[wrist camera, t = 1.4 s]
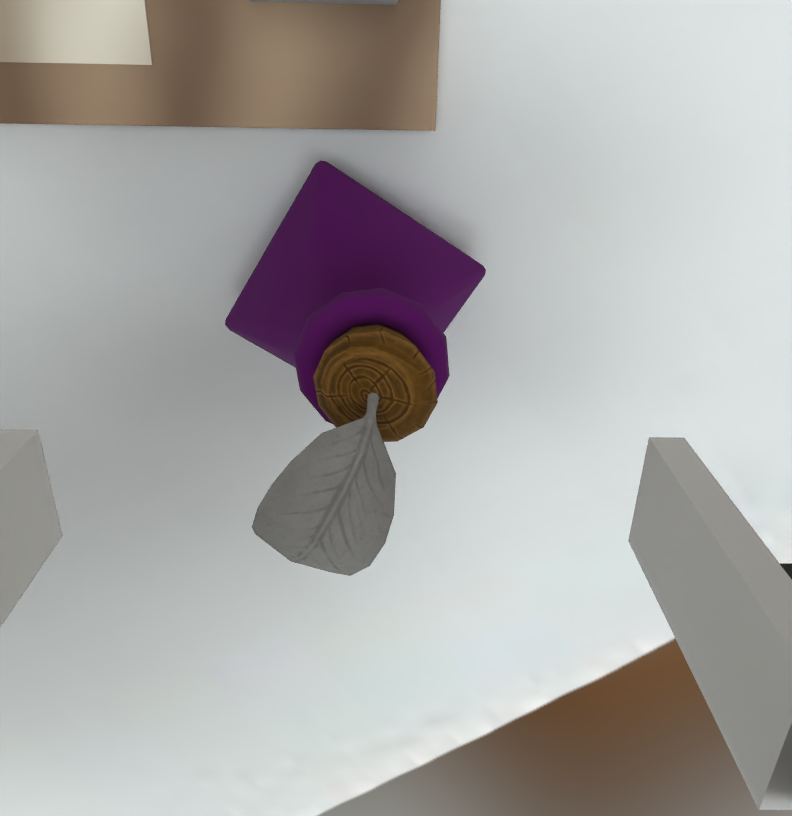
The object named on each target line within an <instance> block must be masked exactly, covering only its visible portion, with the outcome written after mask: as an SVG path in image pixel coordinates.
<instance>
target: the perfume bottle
mask: <svg viewBox="0 0 792 816" xmlns="http://www.w3.org/2000/svg"><path fill="white" fill-rule="evenodd" d="M485 271H486V269H485V268H484V266H483V265H481V264H480V263H478V262H477V261H475V260H474V259H472V258H471V257H469V256H468V255H466V254H465V253H463V252H462V251H460V250H459V249H457V248H456V247H454V246H453V245H451V244H450V243H448V242H447V241H445V240H444V239H442V238H440V237H439V236H437V235H436V234H434V233H433V232H431V231H430V230H428V229H427V228H425V227H424V226H422V225H421V224H419V223H418V222H416V221H415V220H413V219H412V218H410V217H409V216H407V215H406V214H404V213H403V212H401V211H400V210H398V209H397V208H395V207H394V206H392V205H391V204H389V203H388V202H386V201H385V200H383V199H382V198H380V197H379V196H377V195H376V194H374V193H373V192H371V191H370V190H368V189H367V188H365V187H364V186H362V185H361V184H359V183H358V182H356V181H355V180H353V179H352V178H350V177H349V176H347V175H345V174H344V173H342V172H341V171H339V170H338V169H336V168H335V167H333V166H332V165H330V164H329V163H327V162H326V161H319V162H318V163H316V164H315V166H314V168H313V169H312V171H311V173H310V175H309V176H308V178H307V180H306V182H305V183H304V185H303V187H302V188H301V190H300V192H299V194H298V195H297V197H296V199H295V201H294V202H293V204H292V206H291V207H290V209H289V211H288V213H287V214H286V216H285V218H284V220H283V221H282V223H281V225H280V226H279V228H278V230H277V232H276V233H275V235H274V237H273V239H272V240H271V242H270V244H269V246H268V247H267V249H266V251H265V252H264V254H263V256H262V258H261V259H260V261H259V263H258V265H257V266H256V268H255V270H254V271H253V273H252V275H251V277H250V278H249V280H248V282H247V284H246V285H245V287H244V289H243V290H242V292H241V294H240V296H239V297H238V299H237V301H236V303H235V304H234V306H233V308H232V309H231V311H230V313H229V315H228V316H227V318H226V322H225V325H226V326H227V327H228V328H229V330H231V331H232V332H234V333H236V334H238V335H239V336H241V337H243V338H245V339H246V340H248V341H250V342H252V343H254V344H255V345H257V346H259V347H261V348H262V349H264V350H266V351H268V352H269V353H271V354H273V355H275V356H276V357H278V358H280V359H282V360H283V361H285V362H287V363H289V364H290V365H292V366H294V367H296V370H297V376H298V381H299V387H300V390H301V392H302V393H303V394H304V396H305V397H306V398H307V399H308V400H309V402H310V403H311V404H312V405H313V406H314V408H315V409H316V410H317V411H318V412H319V414H320V415H321V416H322V417H323V418H324V419H325V421H327V422H330V423H332V424H334V425H335V427H336V428H334V429H332V430H329V431H326V432H324V433H322V434H320V435H319V436H318V437H317V438H316V439H315V440H314V441H313V442H312V443H311V444H310V445H308V446H307V447H306V448H305V449H304V450H303V451H302V452H301V453H300V454H299V455H297V456H296V457H295V458H294V459H293V460H292V461H291V462H290V463H289V465H288V466H287V467H286V468H285V469H284V471H283V472H282V473H281V474H280V475H279V477H278V478H277V479H276V480H275V481H274V483H273V484H272V485H271V487H270V489H269V490H268V492H267V493H266V495H265V497H264V498H263V500H262V502H261V503H260V505H259V506H258V508H257V512H256V515H255V519H254V522H253V525H252V528H253V530H254V532H255V534H256V535H257V536H259V537H260V538H261V539H262V540H264V541H265V542H266V543H268V544H269V545H270V546H272V547H273V548H274V549H276V550H277V551H278V552H279V553H281V554H282V555H283V556H285V557H286V558H287V559H289V560H290V561H292V562H295V563H299V564H303V565H307V566H310V567H314V568H318V569H321V570H325V571H329V572H333V573H338V574H344V575H350V576H351V575H353V574H354V573H356V572H358V571H360V570H362V569H364V568H366V567H368V566H370V565H371V563H372V562H373V560H374V559H375V557H376V556H377V554H378V553H379V551H380V550H381V548H382V547H383V545H384V544H385V541H386V538H387V535H388V532H389V528H390V525H391V522H392V519H393V516H394V500H395V478H396V473H395V470H394V468H393V465H392V463H391V460H390V457H389V455H388V452H387V450H386V447H385V445H384V442H391V441H399V440H401V439H403V438H404V437H406V436H408V435H410V434H412V433H414V432H415V431H417V430H419V429H421V428H423V427H424V425H425V424H426V422H427V420H428V418H429V417H430V415H431V413H432V411H433V409H434V408H435V406H436V404H437V402H438V401H437V398H438V396H439V395H440V393H441V391H442V389H443V387H444V385H445V383H446V382H447V380H448V377H449V366H448V354H447V342H446V336H445V335H444V334H443V332H444V331H445V330H446V328H447V327H448V325H449V324H450V323H451V321H452V320H453V319H454V317H455V316H456V314H457V313H458V312H459V310H460V309H461V307H462V306H463V305H464V303H465V302H466V300H467V299H468V298H469V296H470V295H471V294H472V292H473V291H474V289H475V288H476V287H477V285H478V284H479V282H480V281H481V280H482V278H483V277H484V275H485Z"/></svg>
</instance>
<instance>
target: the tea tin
mask: <svg viewBox="0 0 792 816" xmlns="http://www.w3.org/2000/svg"><path fill="white" fill-rule="evenodd" d="M246 1H249V2H291V3H337V4H384V5H397V2H398V0H246Z"/></svg>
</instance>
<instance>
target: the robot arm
mask: <svg viewBox="0 0 792 816" xmlns="http://www.w3.org/2000/svg"><path fill="white" fill-rule="evenodd" d="M61 537H62V532H61V528H60V523H59V519H58V515H57V510H56V506H55V502H54V497H53V493H52V489H51V484H50V480H49V476H48V471H47V467H46V463H45V458H44V454H43V450H42V445H41V441H40V437H39V433H38V430H1V431H0V627H1V626H2V624H3V623H4V621H5V620H6V618H7V617H8V615H9V614H10V612H11V611H12V610H13V608H14V607H15V605H16V604H17V602H18V601H19V599H20V598H21V596H22V595H23V593H24V592H25V590H26V589H27V587H28V586H29V584H30V583H31V581H32V580H33V578H34V577H35V575H36V574H37V572H38V571H39V569H40V568H41V566H42V565H43V563H44V562H45V560H46V559H47V557H48V556H49V555H50V553H51V552H52V550H53V549H54V547H55V546H56V544H57V543H58V541H59V540H60V538H61ZM629 543H630V545H631V547H632V549H633V551H634V553H635V556H636V558H637V560H638V562H639V564H640V566H641V568H642V570H643V572H644V574H645V576H646V578H647V580H648V582H649V584H650V586H651V588H652V591H653V593H654V595H655V597H656V599H657V601H658V603H659V605H660V607H661V609H662V611H663V613H664V615H665V617H666V619H667V621H668V624H669V626H670V628H671V630H672V632H673V634H674V636H675V638H676V640H677V642H678V644H679V646H680V648H681V650H682V652H683V654H684V656H685V659H686V661H687V663H688V665H689V667H690V669H691V671H692V673H693V675H694V677H695V679H696V681H697V683H698V685H699V687H700V689H701V692H702V694H703V696H704V698H705V700H706V702H707V704H708V706H709V708H710V710H711V712H712V714H713V716H714V718H715V720H716V722H717V725H718V726H719V729H720V731H721V733H722V735H723V737H724V739H725V741H726V743H727V745H728V747H729V749H730V751H731V753H732V755H733V757H734V760H735V762H736V763H737V766H738V768H739V770H740V772H741V774H742V776H743V778H744V780H745V782H746V784H747V786H748V788H749V791H750V792H751V795H752V797H753V799H754V801H755V803H756V805H757V807H758V809H759V810H792V564H779V562H778V561H777V560H776V558H775V557H774V556H773V554H772V553H771V552H770V550H769V549H768V548H767V546H766V545H765V544H764V543H763V541H762V540H761V539H760V537H759V536H758V535H757V533H756V532H755V531H754V529H753V528H752V527H751V525H750V524H749V523H748V521H747V520H746V519H745V517H744V516H743V515H742V513H741V512H740V511H739V509H738V508H737V507H736V506H735V504H734V503H733V502H732V500H731V499H730V498H729V496H728V495H727V494H726V492H725V491H724V490H723V488H722V487H721V486H720V484H719V483H718V482H717V480H716V479H715V478H714V476H713V475H712V474H711V473H710V471H709V470H708V469H707V467H706V466H705V465H704V463H703V462H702V461H701V459H700V458H699V457H698V455H697V454H696V453H695V451H694V450H693V449H692V447H691V446H690V445H689V443H688V442H687V441H686V439H685V438H659V437H649V440H648V445H647V450H646V455H645V460H644V465H643V470H642V475H641V480H640V485H639V490H638V495H637V500H636V505H635V510H634V515H633V520H632V525H631V530H630V536H629Z"/></svg>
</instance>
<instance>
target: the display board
mask: <svg viewBox="0 0 792 816" xmlns="http://www.w3.org/2000/svg"><path fill="white" fill-rule="evenodd" d="M440 2H441V0H398V2H397V5H384V4H337V3H291V2H249V1H246V0H0V123H16V124H75V125H133V126H192V127H251V128H309V129H368V130H427V131H435V129H436V103H437V78H438V53H439V27H440Z"/></svg>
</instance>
